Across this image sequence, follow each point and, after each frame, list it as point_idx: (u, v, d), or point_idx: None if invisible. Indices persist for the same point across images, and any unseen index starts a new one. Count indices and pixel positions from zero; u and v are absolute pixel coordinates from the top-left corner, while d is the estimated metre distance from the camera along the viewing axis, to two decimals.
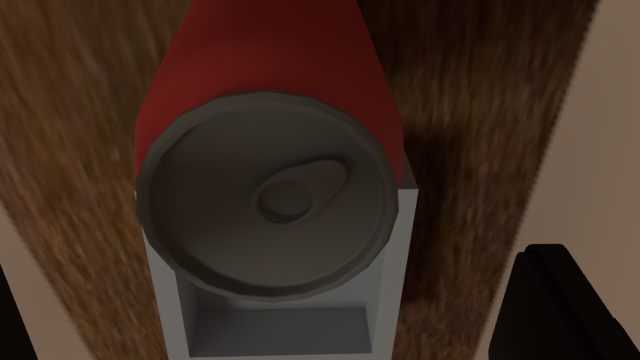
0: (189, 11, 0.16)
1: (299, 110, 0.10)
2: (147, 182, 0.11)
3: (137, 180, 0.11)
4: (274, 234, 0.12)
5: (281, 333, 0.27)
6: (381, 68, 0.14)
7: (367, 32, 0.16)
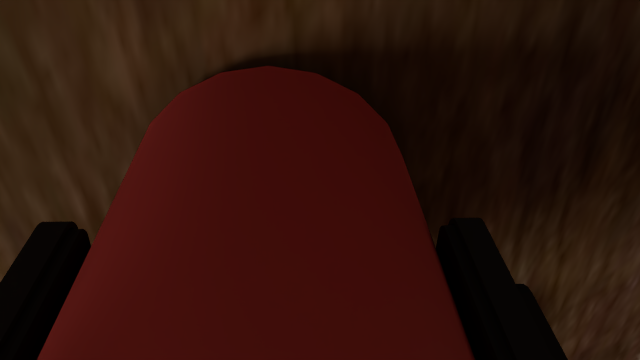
0: (102, 230, 0.08)
1: None
2: None
3: None
4: None
5: None
6: None
7: (441, 275, 0.08)
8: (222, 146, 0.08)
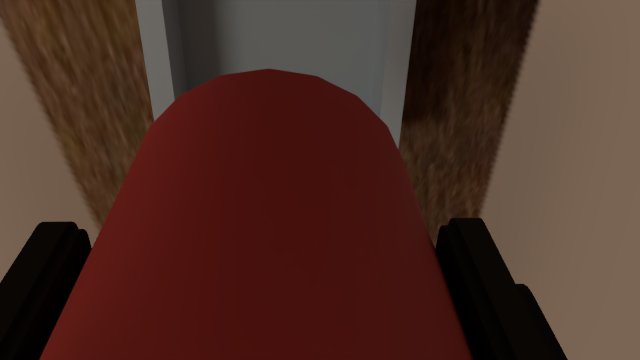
0: (102, 234, 0.08)
1: None
2: None
3: None
4: None
5: None
6: None
7: (441, 279, 0.08)
8: (222, 150, 0.08)
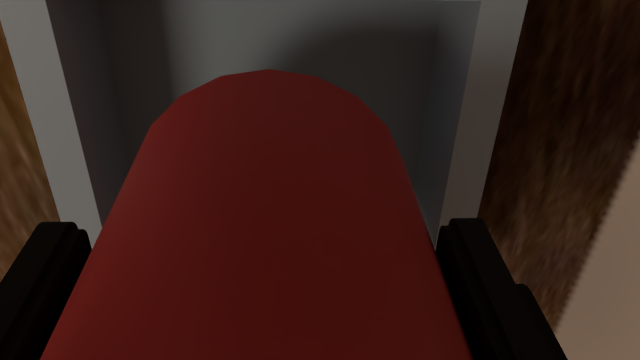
0: (102, 234, 0.08)
1: None
2: None
3: None
4: None
5: None
6: None
7: (441, 279, 0.08)
8: (223, 151, 0.08)
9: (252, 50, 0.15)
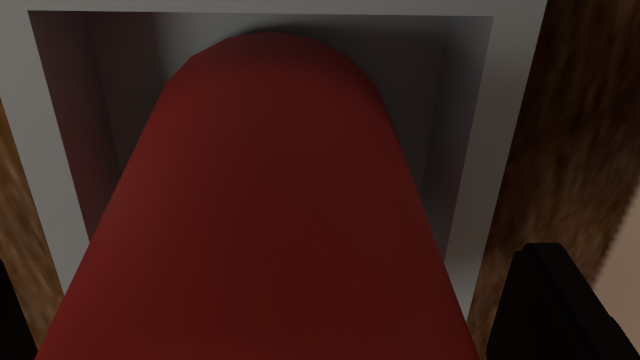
0: (130, 162, 0.10)
1: None
2: None
3: None
4: None
5: None
6: (452, 290, 0.08)
7: (416, 197, 0.10)
8: (232, 92, 0.10)
9: None
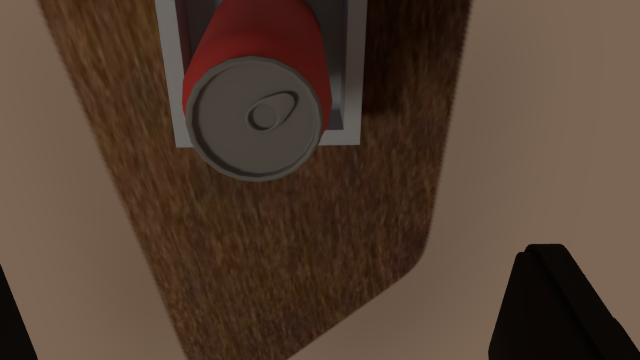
0: (209, 24, 0.27)
1: (267, 65, 0.20)
2: (191, 105, 0.21)
3: (187, 104, 0.21)
4: (258, 138, 0.22)
5: None
6: (321, 53, 0.25)
7: (316, 35, 0.26)
8: None
9: None
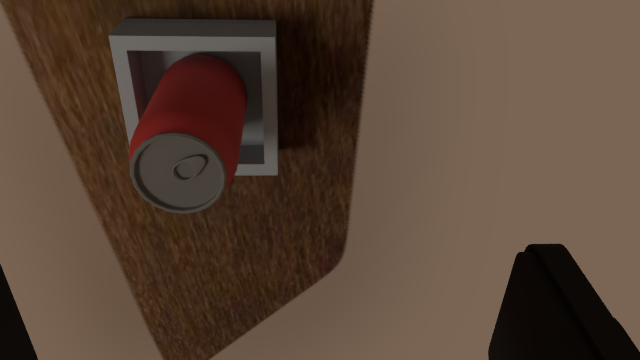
0: (155, 92, 0.36)
1: (184, 139, 0.30)
2: (133, 163, 0.30)
3: (130, 163, 0.30)
4: (182, 184, 0.32)
5: None
6: (233, 119, 0.34)
7: (234, 101, 0.36)
8: (183, 72, 0.36)
9: None
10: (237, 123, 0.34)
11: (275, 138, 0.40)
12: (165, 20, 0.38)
